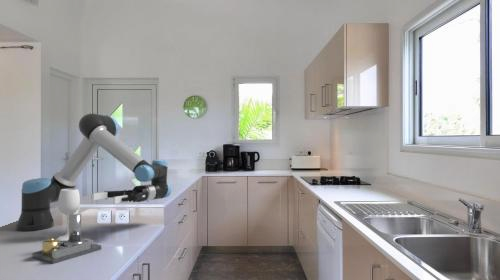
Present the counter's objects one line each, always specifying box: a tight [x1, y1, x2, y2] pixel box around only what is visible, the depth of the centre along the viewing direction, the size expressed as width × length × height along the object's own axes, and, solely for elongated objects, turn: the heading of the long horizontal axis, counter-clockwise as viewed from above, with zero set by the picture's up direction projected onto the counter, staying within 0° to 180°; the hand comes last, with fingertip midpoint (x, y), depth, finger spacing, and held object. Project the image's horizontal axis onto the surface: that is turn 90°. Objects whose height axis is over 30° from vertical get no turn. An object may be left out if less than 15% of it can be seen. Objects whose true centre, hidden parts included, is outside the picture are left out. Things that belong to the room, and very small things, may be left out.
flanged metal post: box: [64, 213, 86, 247], centre depth 121 cm, size 7×7×12 cm
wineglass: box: [56, 188, 81, 242], centre depth 137 cm, size 9×9×21 cm
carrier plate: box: [31, 237, 102, 265], centre depth 118 cm, size 14×18×6 cm
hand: (103, 198), depth 133 cm, fingers open, 13 cm apart
